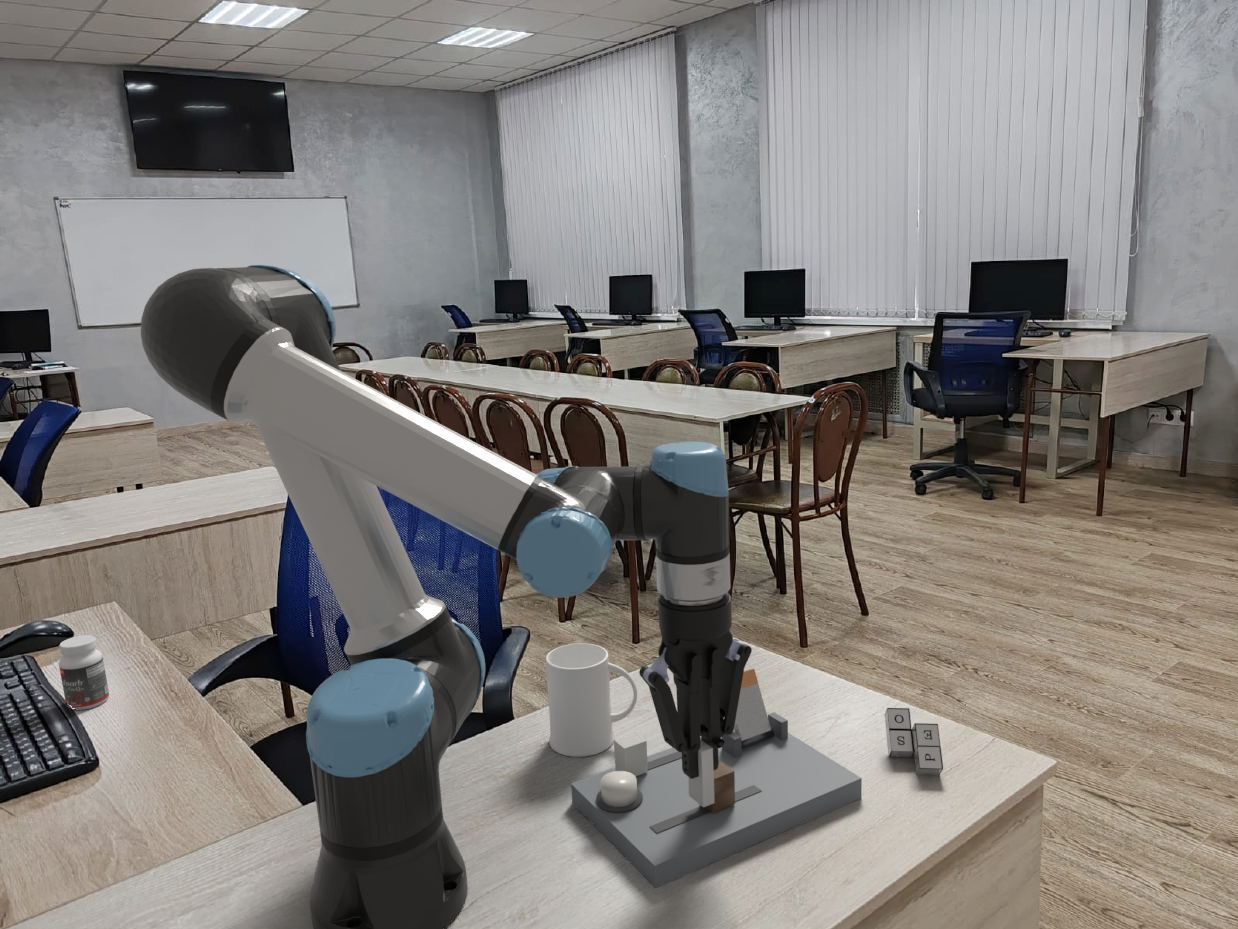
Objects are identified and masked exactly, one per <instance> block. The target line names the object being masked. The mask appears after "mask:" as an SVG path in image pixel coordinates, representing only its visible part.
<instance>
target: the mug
mask: <svg viewBox="0 0 1238 929" xmlns="http://www.w3.org/2000/svg"><path fill="white" fill-rule="evenodd" d="M545 667H546V668H545V669H546V682H547V683H546V684H547V695H548V696H547V698H548V699H547V700H548V713H549V715H548V716H549V724H550V725H549V731H550V732H549V733H550V734H549V739H548V740H549V746H550V748H551V750H554V751H555V752H556V753H557V754H561V755H563V756H567V757H573V758H582V757H583V758H584V757H585V758H586V757H590V756H594V755H597V754H601V753H603V752H605V751H606V750H608V749H609V748H610V747H611V746H612V745H614V740H615V733H614V730H613V724H614V723H617V722H619V721H621V720H624V719H625V718H627V717H628V716H629V715H630V714H631V712H633V710H634V708H635V706H636V704H637V701H638V688H637V685H636V683H635V680H634V678H633V677H632V675H631V674H630V673H629V672H628V671H627V670H625V669H624V668H623V667H621V666H619V665H617V664H614V663H611V662H610V661H609V652H608V651H607V649H606V648H604V647H603V646H600V645H597V644H592V643H584V642H583V643H570V644H564V645H561V646H557V647H556V648H554V649H552V650H550V651H549V652H548V653H547V654H546V657H545ZM610 673H615V674H618V675H620V676H621V677H624V679H626V680H627V682H629V684H630V686H631V688H632V692H633V697H632V700H631V703H630V704H629V706H628V707H627V708H626V709H624V710H623V711H620V712H616V713H615V712H613V713H612V705H611V704H612V703H611V702H612V701H611V684H610V682H611V680H610Z"/></svg>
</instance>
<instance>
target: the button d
mask: <svg viewBox="0 0 1238 929" xmlns="http://www.w3.org/2000/svg"><path fill="white" fill-rule="evenodd" d="M601 796H602V801H603V802H604V803H605V804H607V805H609V806H613V807H623V806H628V805H630V804H632V803H633V802H635V801H636V799H637V779H636V777H635V776H634V775H633V774H632V773H630V772H626V771H614V772H610V773H607V774H606V775H604V776H603V777H602V779H601Z"/></svg>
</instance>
